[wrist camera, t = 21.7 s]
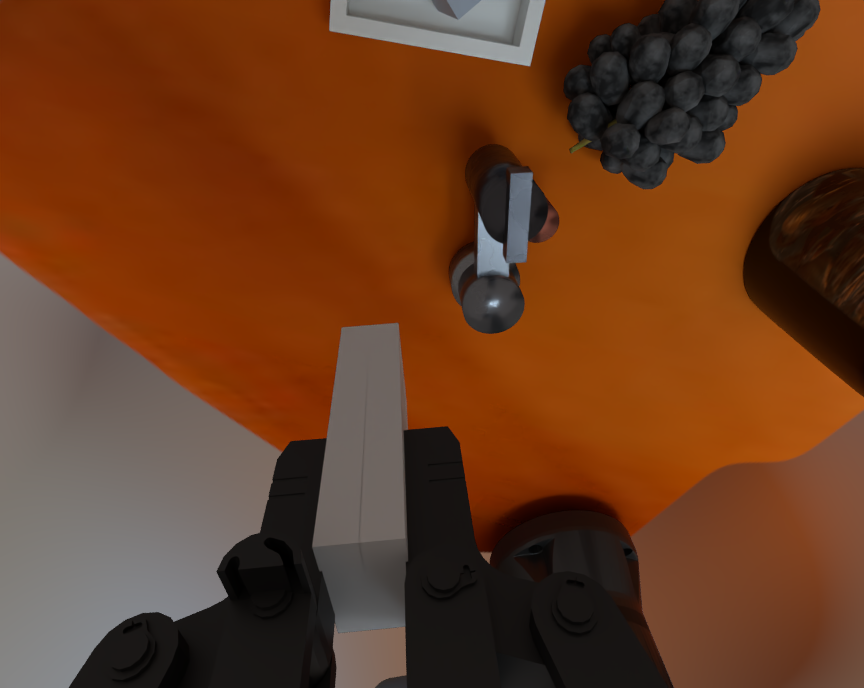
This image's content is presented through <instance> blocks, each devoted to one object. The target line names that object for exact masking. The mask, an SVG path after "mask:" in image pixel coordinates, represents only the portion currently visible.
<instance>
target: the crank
mask: <svg viewBox="0 0 864 688" xmlns="http://www.w3.org/2000/svg"><path fill="white" fill-rule="evenodd" d="M532 178H533V172H532V171H531V169H530V168H529V167H528V166H522V164H521V163H520V162H519V161H518V159H517V158H516V157H515V155H514V154H513V153H512V152H511V151H510V150H509V149H508V148H506V147H504V146H502V145H497V144H491V145H486V146H483V147H481V148H479V149H478V150H477V151H475V152H474V153H473V154H472V156H471V157H470V158H469V160H468V162H467V165H466V169H465V179H466V182H467V185H468V188H469V190H470V193H471V195H472V197H473V200H474V202H475V216H474V263H473V264H472V265H470V266H469V267H468V268H467V269H466V270H465V271H464V272H463V273H462V275H461V277H460V279H459V282H458V293H459V297H460V301H461V305H462V310H463V314H464V317H465V320H466V322H467V323H468V324H469V325H470V326H471V327H472V328H473V329H475V330H477V331H479V332H482V333H488V334H493V333H499V332H502V331H505V330H507V329H509V328H511V327H512V326H513V325H514V324H516V323H517V321H518V320H519V319H520V317H521V316H522V313H523V311H524V297H523V295H522V292H521V290H520V288H519V286H518V283H517V281H516V279H515V276H514V274H513V272H512V270H511V269H510V268H509V263H520V262H526V259H527V245H528V241H529V240H530V239H532V238H533V237H535V236H536V235H537V234H538V233H539V232H540V231H541V229H542V228H543V226H544V224H545V222H546V220H547V216H548V203H547V199H546V197H545V195H544V193H543V192H542V191H541V189H540V188H539V187H538V185H537V184H536V183H535V182H534V180H533V179H532Z"/></svg>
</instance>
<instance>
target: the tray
mask: <svg viewBox="0 0 864 688" xmlns="http://www.w3.org/2000/svg"><path fill="white" fill-rule="evenodd" d="M544 4H545V0H481V1H480V2H479V3H478V4H476V5H475V6H474V7H473V8H472V9H471V10H469V11H468V12H467V13H466V14H465V15H464V16H462V17H461V18H460V19H459V20H457V19H455V18H453V17H451V16H448V15H446V14H444V13H441V12H439V11H438V10H437V9H436V7H435V6H434V4H433V2H432V1H431V0H331V4H330V27H329V31H333V32H339V33H344V34H350V35H356V36H361V37H367V38H373V39H378V40H384V41H390V42H395V43H401V44H407V45H412V46H418V47H424V48H429V49H435V50H441V51H446V52H452V53H457V54H463V55H469V56H474V57H480V58H486V59H491V60H497V61H503V62H508V63H514V64H520V65H525V66H530V64H531V60H532V56H533V51H534V47H535V43H536V39H537V34H538V30H539V26H540V21H541V17H542V13H543V9H544Z"/></svg>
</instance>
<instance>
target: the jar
mask: <svg viewBox="0 0 864 688" xmlns="http://www.w3.org/2000/svg"><path fill="white" fill-rule="evenodd" d="M744 284H745V288H746V291H747V293H748V295H749V297H750V299H751V300H752V302H753V303H754V304H755V305H756V306H757V307H758V308H759V309H760V310H761V311H762V312H763V313H764V314H766V315H767V316H768V317H769V318H770V319H771V320H772V321H773V322H775V323H776V324H777V325H778V326H779V327H780V328H782V329H783V330H784V331H785V332H786V333H787V334H788V335H790V336H791V337H792V338H793V339H794V340H795V341H797V342H798V343H799V344H800V345H801V346H802V347H804V348H805V349H806V350H807V351H808V352H809V353H811V354H812V355H813V356H814V357H815V358H817V359H818V360H819V361H820V362H821V363H822V364H824V365H825V366H826V367H827V368H828V369H830V370H831V371H832V372H833V373H834V374H836V375H837V376H838V377H839V378H841V379H842V380H843V381H844V382H845V383H847V384H848V385H849V386H850V387H852V388H853V389H854V390H855V391H856V392H858V393H859V394H860V395H862V396H863V397H864V168H849V169H842V170H837V171H834V172H830V173H828V174H825V175H822V176H820V177H818V178H816V179H814V180H812V181H810V182H808V183H806V184H805V185H803V186H801V187H800V188H798V189H797V190H796V191H794V192H793V193H791V194H790V195H789V196H788V197H786V198H785V199H784V200H783V201H782V202H781V203H780V204H779V205H778V206H777V207H776V208H775V209H774V210H773V211H772V212H771V213H770V214H769V216H768V217H767V218H766V219H765V221H764V222H763V223H762V225H761V226H760V228H759V229H758V231H757V233H756V234H755V236H754V238H753V240H752V242H751V244H750V247H749V249H748V252H747V255H746V259H745V265H744Z"/></svg>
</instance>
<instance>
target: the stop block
mask: <svg viewBox="0 0 864 688" xmlns="http://www.w3.org/2000/svg"><path fill="white" fill-rule="evenodd" d="M431 1H432V2H433V4H434V6H435V7H436V9H437V10H438V11H439V12H441V13H444V14H446V15H448V16H451V17H453V18H455V19H457V20H459V19H460V18H461V17H462V16H464V15H465V14H466V13H467V12H468V11H469V10H471V9H472V8H473V7H474V6H475V5H476V4H478V3H479V2H480V1H481V0H431Z"/></svg>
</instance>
